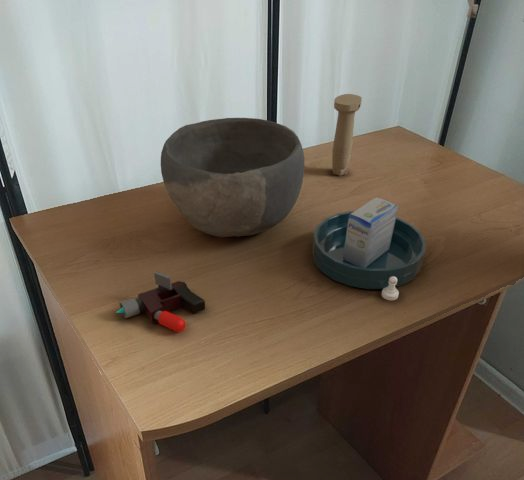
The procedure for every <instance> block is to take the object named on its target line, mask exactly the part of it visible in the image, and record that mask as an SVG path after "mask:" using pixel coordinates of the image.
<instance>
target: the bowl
mask: <svg viewBox="0 0 524 480" xmlns="http://www.w3.org/2000/svg"><path fill="white" fill-rule="evenodd" d="M160 172H161V177H162V180H163V185H164V188H165V190H166V192H167V195H168V196H169V198H170V201H171V202H172V204H173V205H174V207H175V208H176V209H177V211H178V213H179V214H180V215H181V216H182V217H183V218H184V219H185V220H186V221H188V223H189V224H190V225H191V226H192V227H193V228H195V229H196V230H198V231H200V232H202V233H205V234H208V235H211V236H214V237H221V238H225V237H227V238H229V237H245V236H255V235H258V234H260V233H263V232H266V231H268V230H270V229H272V228H275V226H277V225H278V224H280V223H281V222H283V221H284V219H285V218H286V217H287V216H288V215H289V214H290V213H291V211H292V210H293V208H294V206H295V205H296V202H297V200H298V198H299V196H300V194H301V193H300V192H301V189H302V186H303V183H304V173H305V153H304V149H303V146H302V143H301V140H300V138H299V136H298V134H296V133H295V131H294V130H292V129H291V128H289V127H288V126H286V125H283V124H280V123H277V122H275V121H271V120H267V119H262V118H255V117H253V118H252V117H224V118H215V119H214V118H213V119H207V120H204V121H203V120H202V121H199V122H195V123H189V124H185V125H183V126H181V127H179V128H178V129H177V130H175V131H174V132H173V133H171V134H170V136H169V137H168V138H167V139H166V140H165V142H164V144H163V146H162V150H161V153H160Z"/></svg>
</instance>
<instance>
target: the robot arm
mask: <svg viewBox="0 0 524 480" xmlns="http://www.w3.org/2000/svg"><path fill="white" fill-rule="evenodd" d="M467 4H468V10H467V15H466V18H473V19H476V18H477V12H478V10H479V4H475V3H474V0H467ZM522 22H524V16H523V18H522Z"/></svg>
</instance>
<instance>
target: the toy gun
mask: <svg viewBox="0 0 524 480" xmlns="http://www.w3.org/2000/svg"><path fill="white" fill-rule="evenodd" d="M153 276H154V281H155V285H157V287H156V288H153V289H150V290H147V291H144V292H140V293H138V294H137V298H135V297H132V298H129V299H126V300H123V301H120V302H119V307H120V309H119V310H117V311H116V312H115V313H117V314H118V313H119V314H122V315H123V317H124V319H129V318H132V317H134V316H138V315H140V314H141V313H142V312H143V313H144V314H145V315H146V317H147V318H148V319H149V321H150V323H151V324H152V325H154V324H156V323H157V322H158V324H159V325H161V326H164V327H166V328H167V329H170V330H172V331H174V332H176V333H181V332H183V331H184V330H185V329H186V326H187V323H186V321H185V319H184V318H182V317H180V316H179V315H176V314H174V313H171V311H173V310H176V309H180V308H184V309H186V310H187V311H189V312H190V313H191V314H197V313H199V312H203V311H205V310H206V304H205V302H206V301H205V300H204V298H202V297H200V296H199V295H197V294H196V293H194V292H192V291H191V290H190V288H189V287H188V286H187V285H188V284H187V283H186V282H185V281H180V280H178V281H174V282H172V279H171V276H169V275H167V274H165V273H161V272H159V271H155V272H153Z"/></svg>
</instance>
